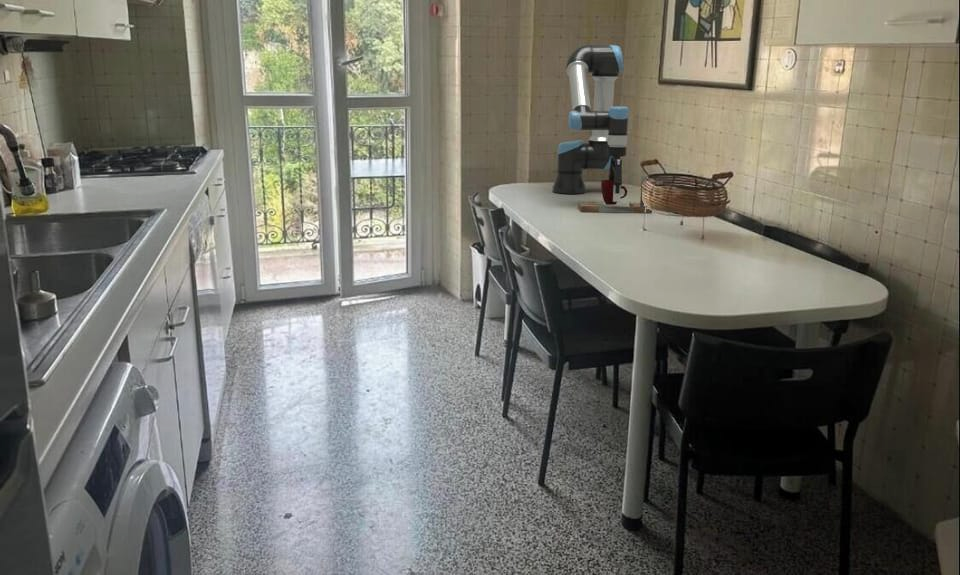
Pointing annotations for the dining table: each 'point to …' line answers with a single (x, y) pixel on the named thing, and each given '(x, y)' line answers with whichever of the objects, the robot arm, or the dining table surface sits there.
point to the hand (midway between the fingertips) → (614, 199)
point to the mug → (609, 191)
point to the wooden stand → (632, 206)
